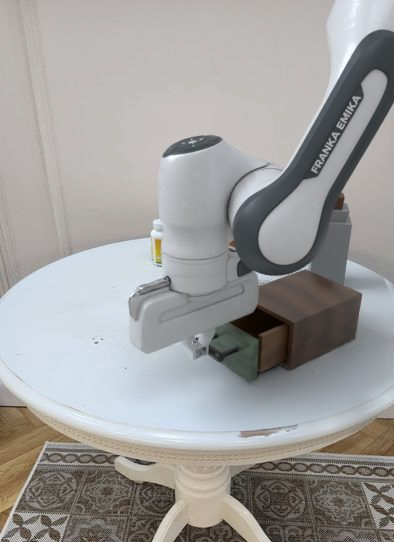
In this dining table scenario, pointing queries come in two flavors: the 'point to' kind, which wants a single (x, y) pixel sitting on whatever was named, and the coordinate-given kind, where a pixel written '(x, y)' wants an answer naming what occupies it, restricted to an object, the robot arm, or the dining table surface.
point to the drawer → (250, 343)
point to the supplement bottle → (156, 242)
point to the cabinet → (311, 314)
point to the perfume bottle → (334, 245)
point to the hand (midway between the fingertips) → (197, 356)
